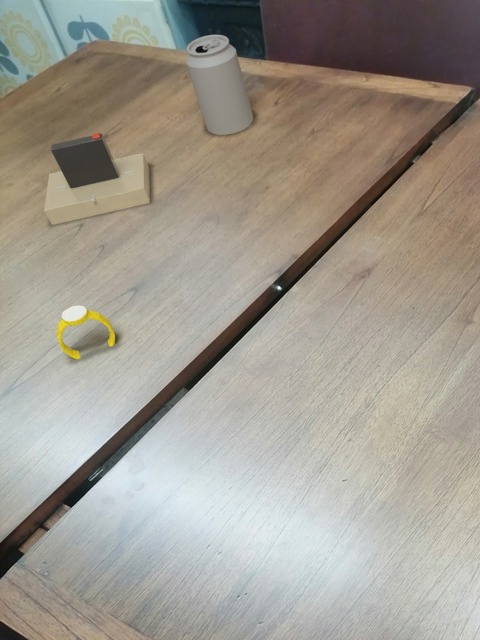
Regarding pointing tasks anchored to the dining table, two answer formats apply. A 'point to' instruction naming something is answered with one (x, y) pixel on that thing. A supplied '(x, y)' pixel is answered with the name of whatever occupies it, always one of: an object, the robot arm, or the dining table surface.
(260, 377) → the dining table surface
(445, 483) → the dining table surface
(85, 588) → the dining table surface
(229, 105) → the can
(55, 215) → the tan rectangular block
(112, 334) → the watch
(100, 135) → the grey block
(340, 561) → the dining table surface
